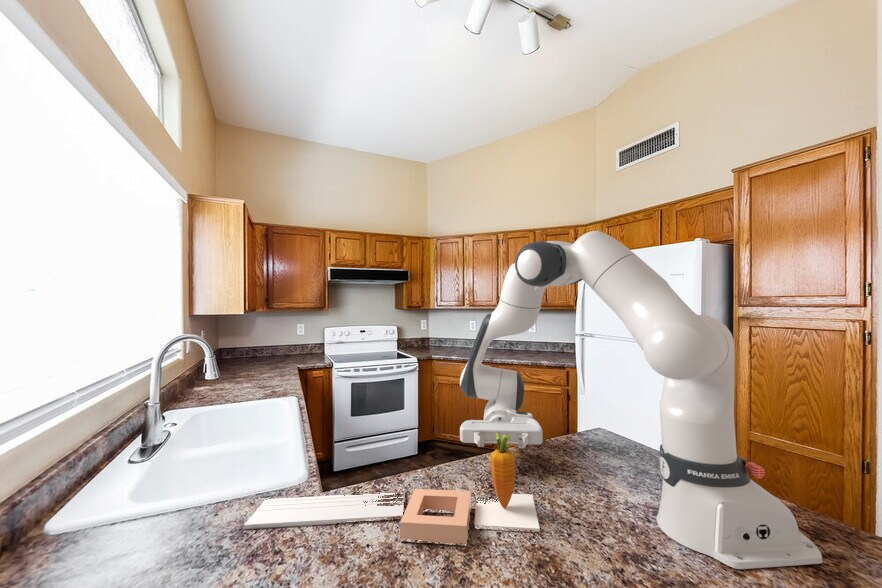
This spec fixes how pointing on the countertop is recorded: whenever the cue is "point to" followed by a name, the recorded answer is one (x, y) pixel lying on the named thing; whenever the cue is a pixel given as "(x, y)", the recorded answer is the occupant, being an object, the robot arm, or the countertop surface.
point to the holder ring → (437, 526)
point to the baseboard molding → (321, 510)
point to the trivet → (508, 513)
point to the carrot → (503, 471)
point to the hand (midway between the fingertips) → (501, 444)
